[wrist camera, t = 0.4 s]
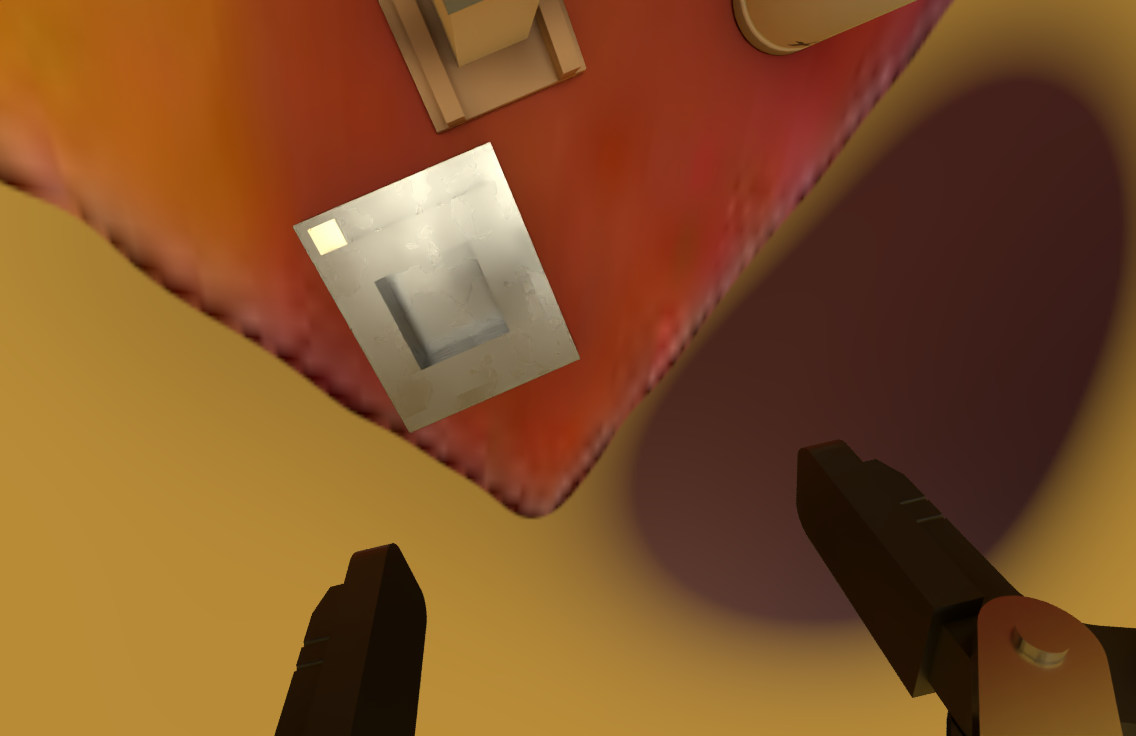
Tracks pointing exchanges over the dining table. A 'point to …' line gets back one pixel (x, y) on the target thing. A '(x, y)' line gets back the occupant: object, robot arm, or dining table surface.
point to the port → (441, 287)
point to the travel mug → (803, 20)
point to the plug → (484, 25)
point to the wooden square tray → (481, 61)
